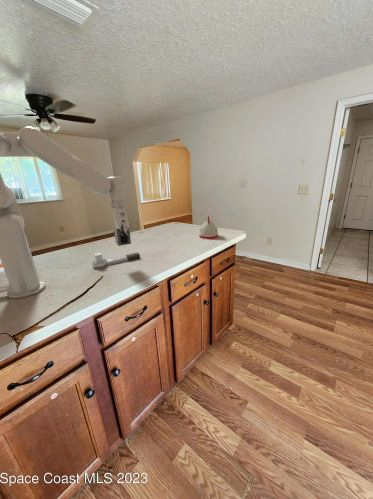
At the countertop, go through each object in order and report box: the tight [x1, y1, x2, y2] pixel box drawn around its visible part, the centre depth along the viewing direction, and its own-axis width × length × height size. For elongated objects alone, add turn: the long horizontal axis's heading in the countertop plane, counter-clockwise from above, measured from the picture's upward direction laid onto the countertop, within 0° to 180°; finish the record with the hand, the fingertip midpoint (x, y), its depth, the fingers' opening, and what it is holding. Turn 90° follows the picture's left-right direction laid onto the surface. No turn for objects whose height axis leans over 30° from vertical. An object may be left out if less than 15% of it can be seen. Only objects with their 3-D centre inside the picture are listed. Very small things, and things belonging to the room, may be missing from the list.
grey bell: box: [199, 215, 219, 240], centre depth 152 cm, size 14×14×15 cm
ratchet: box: [91, 252, 141, 270], centre depth 110 cm, size 24×7×6 cm, turn 121°
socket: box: [113, 228, 132, 247], centre depth 101 cm, size 6×6×7 cm
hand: (123, 241), depth 102 cm, fingers closed on socket, 6 cm apart
